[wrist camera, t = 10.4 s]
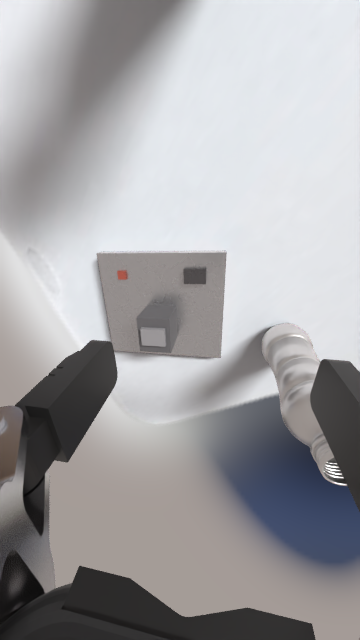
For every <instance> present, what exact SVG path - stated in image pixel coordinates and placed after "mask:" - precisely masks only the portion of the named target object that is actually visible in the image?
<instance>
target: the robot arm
mask: <svg viewBox="0 0 360 640" xmlns="http://www.w3.org/2000/svg"><path fill="white" fill-rule="evenodd" d="M116 381H117V367H116V361H115V355H114V349H113V345H112V343H111V342H109V341H97V340H92V341H90V342H89V343H88V344H87V345H86V346H85V347H84V348H83V349H82V350H81V351H77V352H76V353H74V354H72V355H70V356H68V357H67V358H65V359H64V360H63V361H62V362H61V363H60V364H59V365H58V366H57V368H55V369H53V370H52V371H51V372H50V373H49V375H48V376H46V377H45V378H44V379H43V380H42V381H40V382H39V383H38V384H37V385H36V386H35V387H34V388H33V389H32V390H31V391H30V392H29V393H28V394H27V395H25V397H23V398H22V399H21V400H20V401H19V402H18V403H17V404H16V405H15V406H4V407H0V640H315V635H314V631H313V627H312V624H311V623H307V622H303V621H299V620H295V619H291V618H287V617H283V616H278V615H275V614H271V613H266V612H262V611H258V610H255V609H251V608H243V609H237V610H231V611H225V612H219V613H213V614H207V615H201V616H195V617H184V616H181V615H179V614H178V613H176V612H175V611H173V610H172V609H171V608H169V607H168V606H166V605H165V604H164V603H163V602H161V601H160V600H159V599H157V598H156V597H154V596H153V595H152V594H150V593H149V592H148V591H146V590H145V589H144V588H142V587H141V586H139V585H138V584H137V583H135V582H134V581H133V580H131V579H130V578H126V577H122V576H118V575H114V574H110V573H106V572H102V571H98V570H94V569H90V568H86V567H82V566H79V568H78V570H77V573H76V575H75V578H74V580H73V583H71V584H68V585H64V586H61V587H58V588H55V573H54V564H53V558H52V554H51V550H50V542H49V487H50V486H49V485H50V484H49V483H50V479H49V478H50V476H49V471H48V469H49V467H50V466H51V464H52V462H53V461H54V460H57V461H62V462H68V461H69V460H70V458H71V456H72V455H73V453H74V452H75V450H76V448H77V447H78V445H79V443H80V442H81V440H82V439H83V437H84V435H85V434H86V432H87V430H88V429H89V427H90V426H91V424H92V422H93V421H94V419H95V417H96V416H97V414H98V413H99V411H100V409H101V408H102V406H103V404H104V403H105V401H106V399H107V398H108V396H109V395H110V393H111V391H112V390H113V388H114V386H115V384H116ZM310 403H311V408H312V410H313V413H314V415H315V417H316V419H317V421H318V423H319V425H320V428H321V430H322V432H323V434H324V436H325V438H326V440H327V443H328V445H329V447H330V449H331V451H332V453H333V455H334V458H335V460H336V462H337V464H338V466H339V468H340V471H341V473H342V475H343V477H344V479H345V481H346V483H347V486H348V488H349V490H350V492H351V494H352V496H353V498H354V501H355V503H356V505H357V507H358V509H359V511H360V372H359V371H358V370H357V369H356V368H355V367H354V366H353V364H352V363H351V362H349V361H341V360H328V359H324V360H322V361H321V362H320V364H319V367H318V371H317V374H316V377H315V380H314V383H313V386H312V390H311V393H310ZM359 640H360V638H359Z"/></svg>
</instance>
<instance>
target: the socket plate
mask: <svg viewBox="0 0 360 640" xmlns="http://www.w3.org/2000/svg"><path fill="white" fill-rule="evenodd" d="M97 259H98V265H99V270H100V276H101V282H102V288H103V294H104V299H105V305H106V311H107V317H108V323H109V329H110V334H111V340H112V345H113V349H114V351H126V352H140V353H155V354H169V355H184V356H198V357H213V358H221V340H222V322H223V304H224V287H225V269H226V251H120V252H100V253H97ZM147 305H167V306H177V335H178V336H177V339H176V341H175V344H174V347H173V349H172V352H171V353H161V352H147V351H140V346H139V338H138V329H137V320H136V318H137V317H138V315H139V314H140V313H141V312H142V311H143V310H144V309H145V307H146V306H147Z"/></svg>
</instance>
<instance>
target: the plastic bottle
mask: <svg viewBox="0 0 360 640" xmlns="http://www.w3.org/2000/svg"><path fill="white" fill-rule="evenodd" d="M262 354H263V356H264V358H265V360H266V361H267V363H268V364H269V365H270V367H271V369H272V371H273V373H274V375H275V378H276V382H277V386H278V390H279V397H280V405H281V413H282V417H283V421H284V423H285V425H286V426H287V428H288V429H289V430H290V432H291V433H292V434H293V435H294V436H295V437H296V438H297V439H299V440H300V441H301V442H303V443H304V444H306V445H308V446H309V447H310V451H311V453H312V456H313V458H314V460H315V461H316V462H317V465H318V467H319V470H320V472H321V473H322V475H323V477H324V478H325V479H326V480H328V481H329V482H331V483H333V484H337V485H342V486H347V483H346V481H345V479H344V477H343V475H342V473H341V471H340V468H339V466H338V464H337V462H336V460H335V458H334V455H333V453H332V451H331V449H330V447H329V445H328V443H327V440H326V438H325V436H324V434H323V432H322V430H321V428H320V425H319V423H318V421H317V419H316V417H315V415H314V413H313V410H312V408H311V403H310V393H311V390H312V386H313V383H314V380H315V377H316V374H317V371H318V367H319V364H320V360H319V359H318V357H317V355H316V353H315V351H314V349H313V345H312V342H311V340H310V337H309V336H308V334H307V333H306V332H305V331H304V330H303V329H301V328H300V327H298V326H297V325H294V324H290V323H283V324H278V325H275V326H273V327H272V328H270V329H269V330H268V331H267V332H266V333H265V335H264V336H263V339H262Z"/></svg>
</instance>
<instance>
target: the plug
mask: <svg viewBox="0 0 360 640" xmlns="http://www.w3.org/2000/svg"><path fill="white" fill-rule="evenodd" d="M136 320H137V329H138V338H139V346H140V351H147V352H161V353H171V352H172V349H173V347H174V344H175V341H176V339H177V336H178V335H177V306H167V305H147V306H146V307H145V309H144V310H143V311H142V312H141V313H140V314H139V315H138V317H137V318H136Z"/></svg>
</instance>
